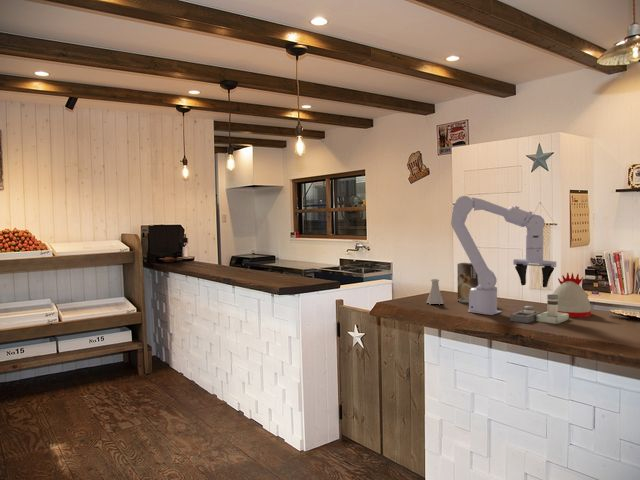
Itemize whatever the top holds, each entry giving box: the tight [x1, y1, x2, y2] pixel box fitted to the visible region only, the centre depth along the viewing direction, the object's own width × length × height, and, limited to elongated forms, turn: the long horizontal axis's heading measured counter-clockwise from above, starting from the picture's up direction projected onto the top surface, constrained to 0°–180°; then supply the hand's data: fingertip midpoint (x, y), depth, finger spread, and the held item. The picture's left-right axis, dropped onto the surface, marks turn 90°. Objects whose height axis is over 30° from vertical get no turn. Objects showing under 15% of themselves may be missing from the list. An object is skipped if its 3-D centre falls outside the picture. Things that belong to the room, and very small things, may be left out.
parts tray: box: [535, 311, 570, 325], centre depth 169 cm, size 7×10×2 cm
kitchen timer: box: [552, 272, 592, 318], centre depth 181 cm, size 14×14×15 cm
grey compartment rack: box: [509, 305, 542, 324], centre depth 171 cm, size 6×11×4 cm, turn 134°
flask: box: [426, 278, 445, 306], centre depth 203 cm, size 7×7×10 cm
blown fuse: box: [546, 293, 558, 317], centre depth 169 cm, size 3×3×8 cm
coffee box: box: [456, 262, 479, 304], centre depth 206 cm, size 9×6×16 cm
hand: (534, 286), depth 179 cm, fingers open, 7 cm apart
